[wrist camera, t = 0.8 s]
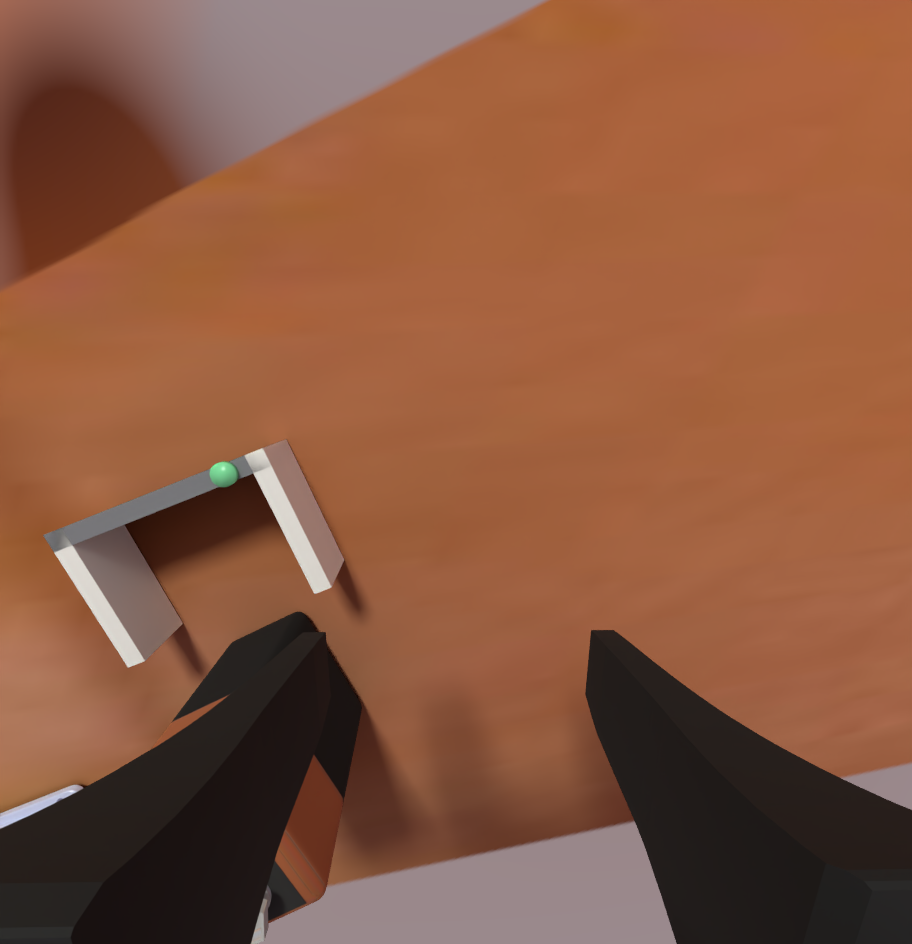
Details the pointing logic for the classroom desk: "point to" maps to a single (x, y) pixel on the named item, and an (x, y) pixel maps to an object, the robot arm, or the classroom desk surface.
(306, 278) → the classroom desk surface
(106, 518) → the charging bay
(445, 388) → the classroom desk surface
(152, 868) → the robot arm
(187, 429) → the classroom desk surface
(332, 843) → the battery
